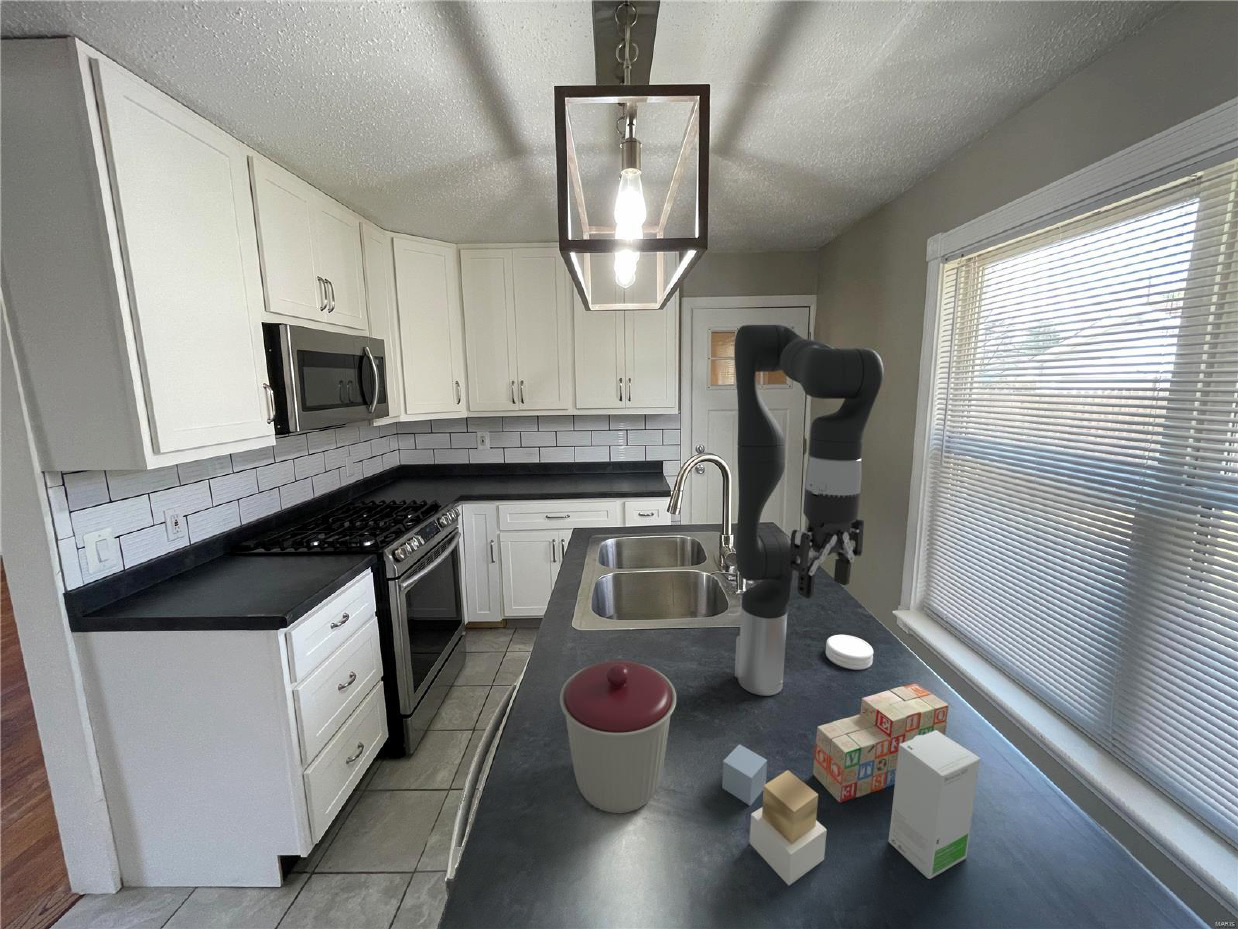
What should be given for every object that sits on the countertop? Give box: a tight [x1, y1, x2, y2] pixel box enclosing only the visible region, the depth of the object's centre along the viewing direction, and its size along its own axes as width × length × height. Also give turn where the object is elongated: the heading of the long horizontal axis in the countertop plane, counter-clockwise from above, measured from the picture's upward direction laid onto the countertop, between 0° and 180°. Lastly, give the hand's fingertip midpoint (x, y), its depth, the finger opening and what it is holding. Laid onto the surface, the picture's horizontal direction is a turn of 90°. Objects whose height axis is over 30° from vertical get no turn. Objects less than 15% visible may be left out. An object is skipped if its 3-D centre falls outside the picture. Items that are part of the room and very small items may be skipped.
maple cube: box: [761, 769, 819, 844], centre depth 68 cm, size 5×5×5 cm
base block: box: [749, 806, 828, 886], centre depth 69 cm, size 7×7×5 cm
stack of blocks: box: [812, 683, 949, 803], centre depth 83 cm, size 21×6×12 cm, turn 109°
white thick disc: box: [825, 634, 874, 670], centre depth 117 cm, size 10×10×4 cm
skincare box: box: [887, 730, 981, 880], centre depth 69 cm, size 8×7×16 cm
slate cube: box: [721, 744, 768, 807], centre depth 80 cm, size 5×5×5 cm
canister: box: [559, 659, 677, 814], centre depth 79 cm, size 18×18×21 cm
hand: (823, 589), depth 77 cm, fingers open, 8 cm apart
